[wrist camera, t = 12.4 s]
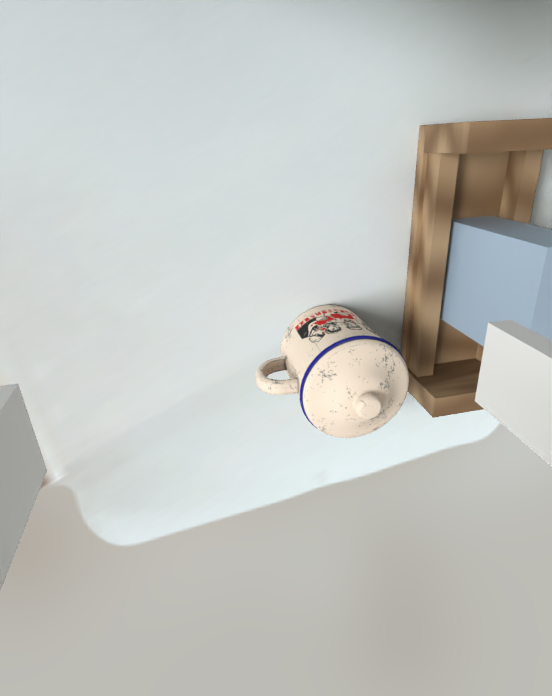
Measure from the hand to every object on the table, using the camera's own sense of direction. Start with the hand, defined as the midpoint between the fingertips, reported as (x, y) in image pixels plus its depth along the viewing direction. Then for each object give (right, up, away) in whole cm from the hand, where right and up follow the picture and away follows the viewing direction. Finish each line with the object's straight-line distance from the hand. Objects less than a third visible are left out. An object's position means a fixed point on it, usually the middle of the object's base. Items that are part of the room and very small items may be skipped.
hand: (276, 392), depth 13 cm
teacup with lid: (+3, +1, +30) cm, 31 cm away
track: (+17, +9, +30) cm, 36 cm away
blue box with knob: (+17, +9, +29) cm, 35 cm away
